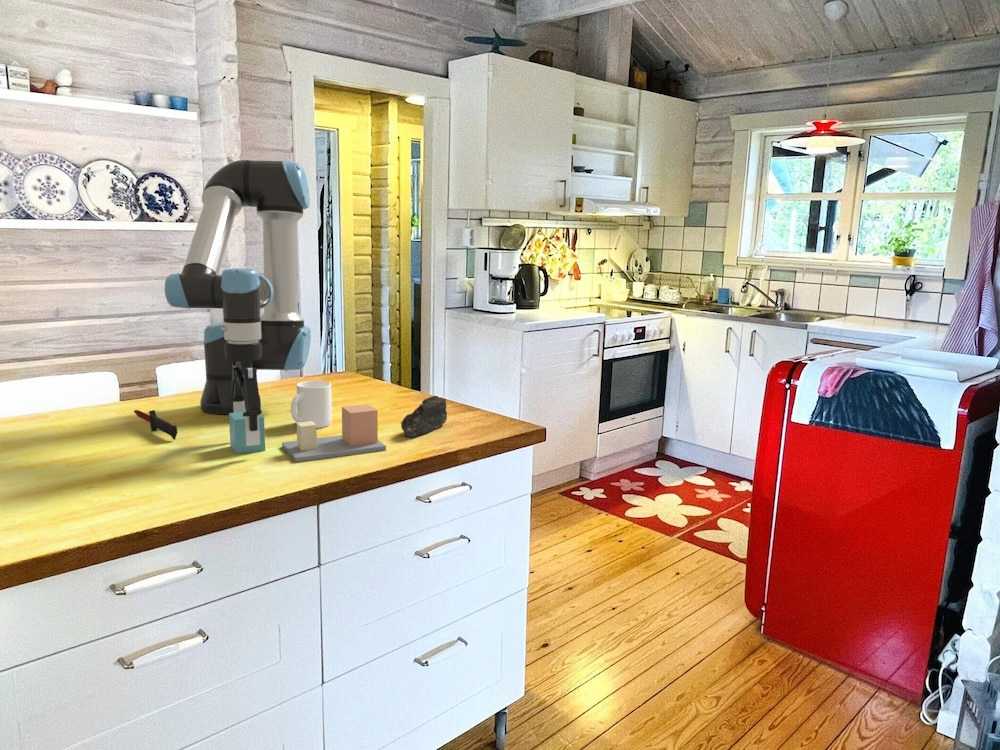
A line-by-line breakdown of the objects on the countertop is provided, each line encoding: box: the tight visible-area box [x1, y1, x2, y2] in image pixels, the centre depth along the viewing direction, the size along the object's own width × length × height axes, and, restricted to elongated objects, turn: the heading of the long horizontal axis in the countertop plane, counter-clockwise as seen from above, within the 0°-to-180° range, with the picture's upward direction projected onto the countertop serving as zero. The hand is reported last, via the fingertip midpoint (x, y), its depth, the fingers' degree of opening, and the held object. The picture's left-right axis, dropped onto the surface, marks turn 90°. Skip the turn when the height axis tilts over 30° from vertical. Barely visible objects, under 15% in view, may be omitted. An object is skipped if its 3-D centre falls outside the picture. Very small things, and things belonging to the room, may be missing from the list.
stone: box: [400, 395, 448, 438], centre depth 174 cm, size 7×8×15 cm
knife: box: [133, 409, 178, 441], centre depth 168 cm, size 24×2×5 cm, turn 47°
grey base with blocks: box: [281, 403, 387, 463], centre depth 158 cm, size 12×20×9 cm, turn 120°
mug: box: [290, 380, 333, 429], centre depth 175 cm, size 12×8×10 cm
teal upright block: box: [228, 412, 266, 455], centre depth 157 cm, size 6×6×8 cm
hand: (246, 437), depth 156 cm, fingers open, 13 cm apart
